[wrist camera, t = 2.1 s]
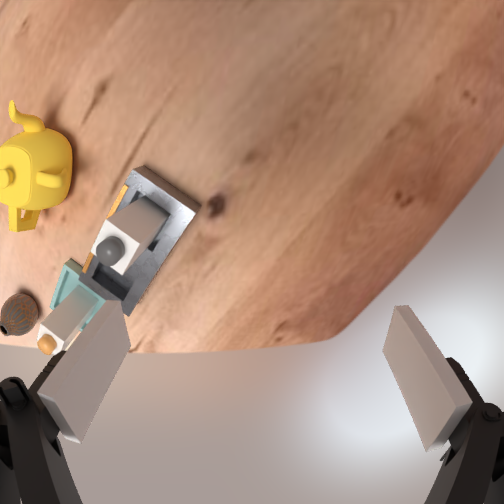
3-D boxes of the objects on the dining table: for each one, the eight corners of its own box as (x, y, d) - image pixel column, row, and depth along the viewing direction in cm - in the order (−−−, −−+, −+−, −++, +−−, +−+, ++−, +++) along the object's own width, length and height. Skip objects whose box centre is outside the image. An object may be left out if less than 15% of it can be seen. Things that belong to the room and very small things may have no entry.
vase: (12, 289, 44) (-16, 313, 36) (33, 285, 43) (4, 310, 35) (27, 321, 46) (3, 347, 38) (49, 319, 46) (23, 347, 38)
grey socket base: (89, 269, 41) (76, 280, 38) (143, 165, 36) (131, 169, 32) (137, 303, 43) (128, 317, 40) (201, 205, 38) (195, 213, 34)
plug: (71, 301, 43) (31, 346, 32) (78, 284, 42) (34, 329, 30) (91, 315, 44) (53, 364, 33) (98, 299, 43) (58, 348, 31)
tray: (55, 301, 44) (49, 307, 42) (71, 258, 41) (64, 263, 39) (101, 335, 46) (96, 342, 44) (122, 296, 43) (117, 303, 41)
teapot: (55, 99, 32) (9, 98, 23) (98, 173, 36) (55, 188, 27) (6, 160, 35) (-38, 172, 26) (43, 227, 39) (3, 251, 30)
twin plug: (131, 219, 37) (83, 257, 26) (146, 194, 36) (98, 224, 24) (156, 237, 38) (116, 282, 27) (172, 212, 37) (133, 250, 25)
